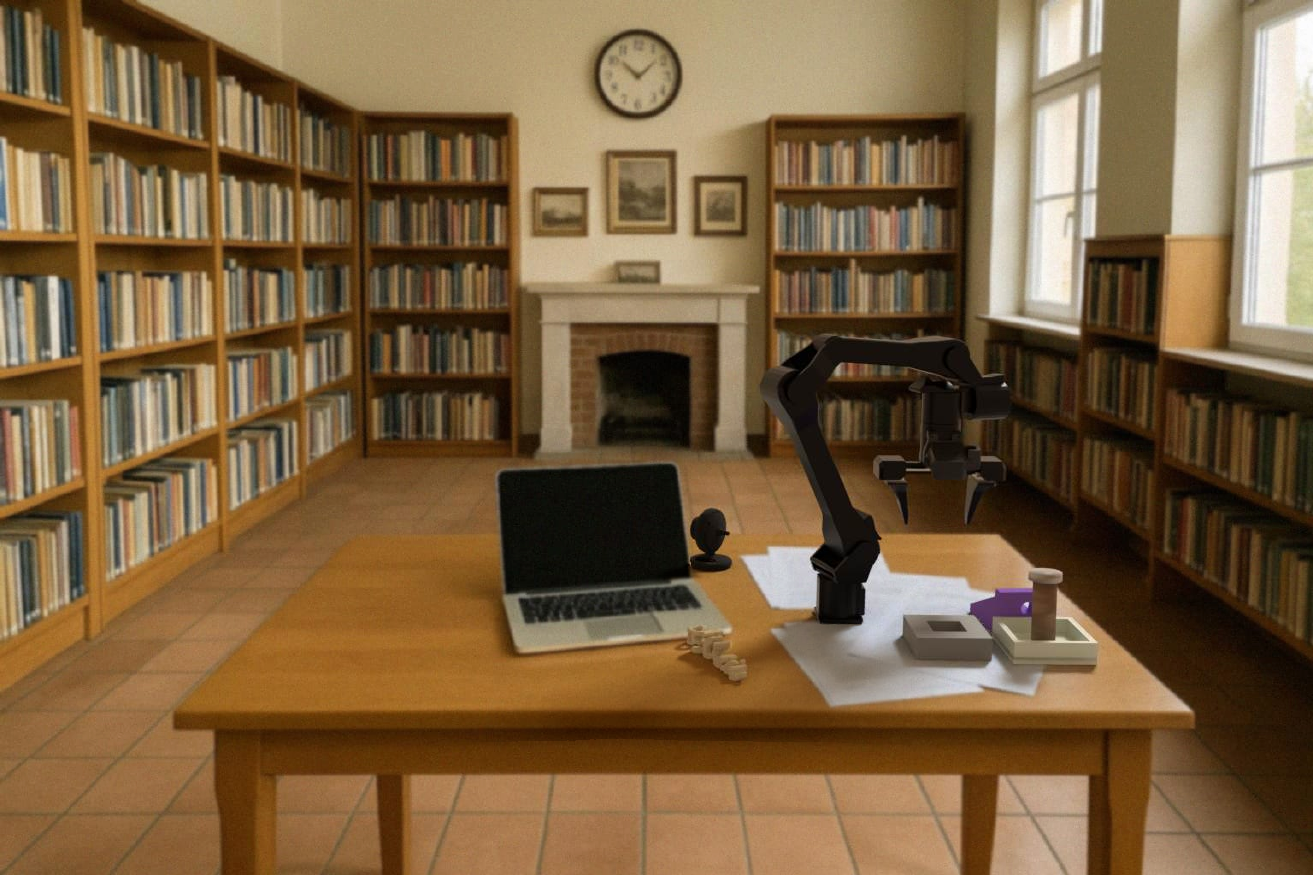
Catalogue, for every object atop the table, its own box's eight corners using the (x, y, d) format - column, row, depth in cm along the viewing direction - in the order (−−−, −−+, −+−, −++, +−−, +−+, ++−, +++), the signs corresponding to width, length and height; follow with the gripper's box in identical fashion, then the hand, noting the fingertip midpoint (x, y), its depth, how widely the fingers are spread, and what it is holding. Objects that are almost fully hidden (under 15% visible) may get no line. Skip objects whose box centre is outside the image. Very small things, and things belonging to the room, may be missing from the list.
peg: (1031, 648, 165) (1034, 576, 164) (1022, 638, 170) (1024, 568, 168) (1064, 648, 165) (1067, 576, 164) (1053, 637, 170) (1056, 567, 168)
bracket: (1044, 638, 174) (1047, 591, 173) (997, 639, 173) (1000, 592, 172) (1014, 612, 186) (1016, 568, 184) (969, 613, 185) (972, 569, 184)
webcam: (704, 557, 215) (705, 501, 213) (740, 564, 210) (741, 507, 209) (679, 566, 209) (679, 509, 207) (716, 574, 204) (716, 515, 203)
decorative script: (678, 644, 170) (678, 620, 170) (703, 640, 172) (703, 617, 171) (735, 686, 155) (735, 660, 154) (762, 681, 156) (762, 656, 156)
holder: (916, 659, 164) (917, 637, 163) (902, 635, 174) (903, 614, 173) (991, 659, 164) (992, 638, 163) (973, 635, 174) (974, 615, 173)
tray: (1013, 663, 162) (1014, 642, 162) (991, 636, 173) (992, 616, 173) (1096, 664, 162) (1098, 643, 162) (1069, 637, 173) (1071, 617, 173)
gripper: (887, 430, 174) (883, 537, 177) (1019, 430, 174) (1013, 538, 176) (874, 418, 185) (870, 519, 187) (998, 419, 185) (993, 520, 187)
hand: (936, 524), depth 184 cm, fingers open, 9 cm apart
